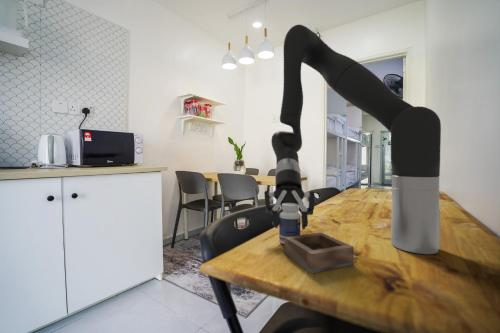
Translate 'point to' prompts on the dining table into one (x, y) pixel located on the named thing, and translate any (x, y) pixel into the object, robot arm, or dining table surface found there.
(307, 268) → the square tray
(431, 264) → the dining table surface
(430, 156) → the robot arm
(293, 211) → the pill bottle
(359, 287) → the dining table surface
